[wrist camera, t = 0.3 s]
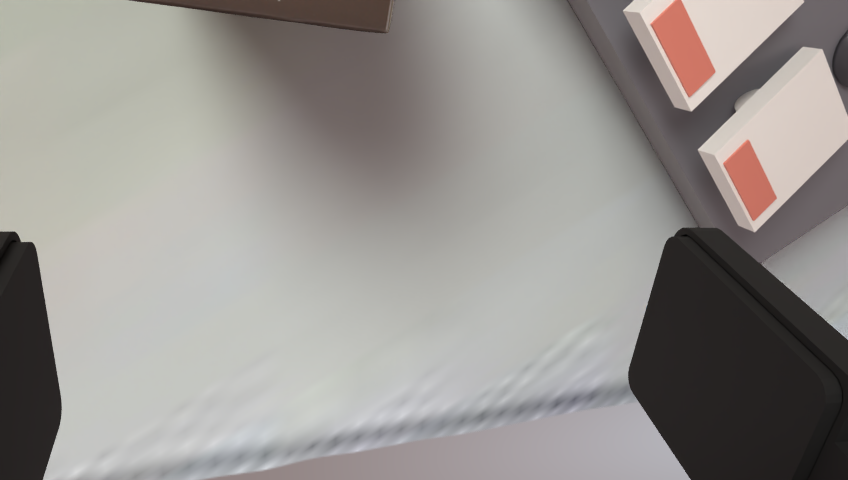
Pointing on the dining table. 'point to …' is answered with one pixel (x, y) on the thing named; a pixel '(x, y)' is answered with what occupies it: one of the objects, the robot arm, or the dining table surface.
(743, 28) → the rocker middle
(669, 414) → the robot arm
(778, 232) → the grey switch panel
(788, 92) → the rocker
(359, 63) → the dining table surface
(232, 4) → the coffee box
